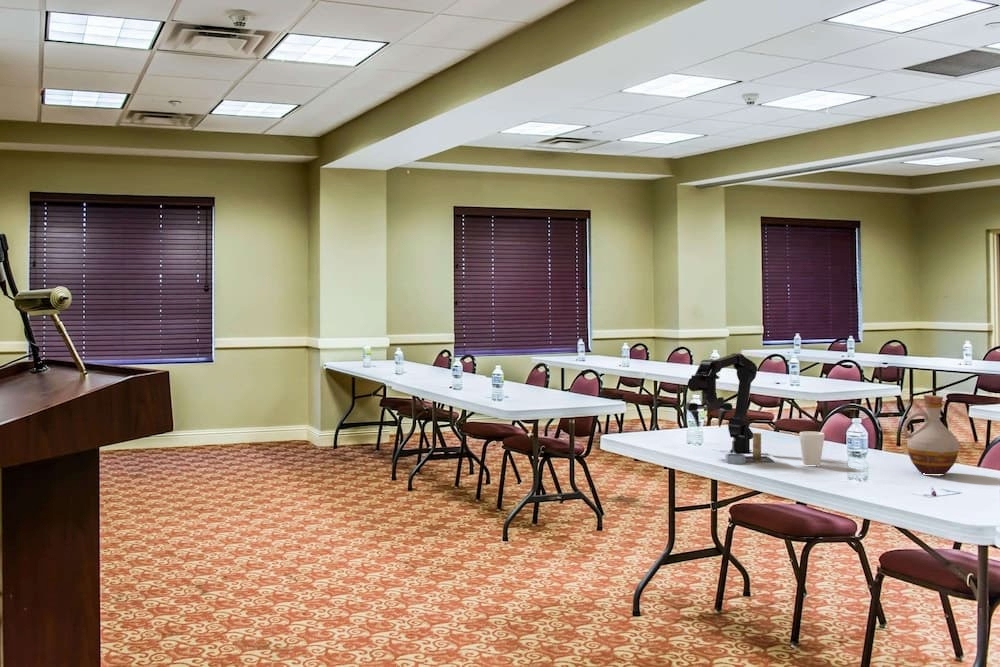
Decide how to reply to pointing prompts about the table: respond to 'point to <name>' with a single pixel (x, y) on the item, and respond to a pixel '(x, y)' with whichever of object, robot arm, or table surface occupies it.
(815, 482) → the table surface
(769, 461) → the tray
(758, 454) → the dowel
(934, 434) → the jug
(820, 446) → the foam cup
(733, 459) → the gray square block
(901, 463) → the table surface
